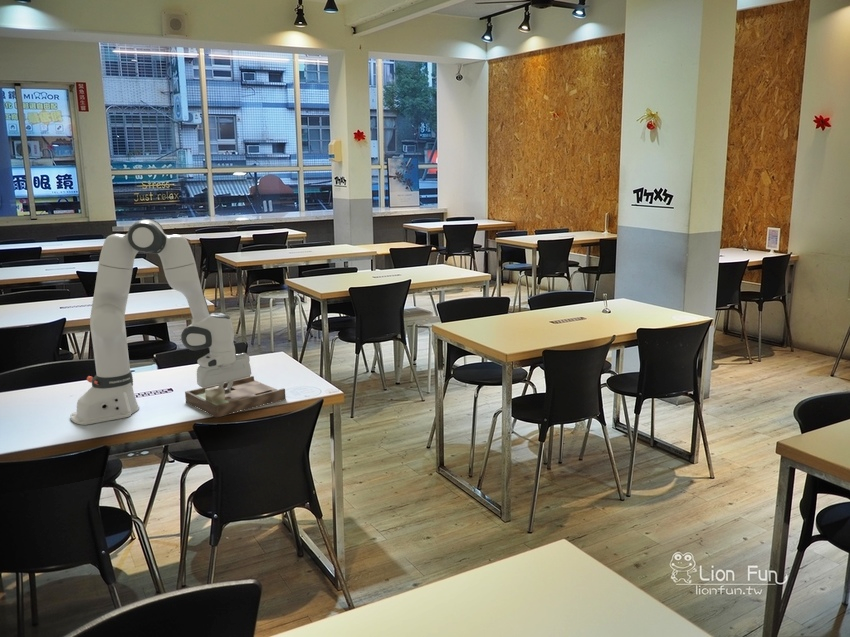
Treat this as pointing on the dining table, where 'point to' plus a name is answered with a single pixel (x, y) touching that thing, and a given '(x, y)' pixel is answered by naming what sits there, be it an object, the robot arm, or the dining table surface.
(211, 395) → the cream block
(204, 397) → the box
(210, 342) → the robot arm
